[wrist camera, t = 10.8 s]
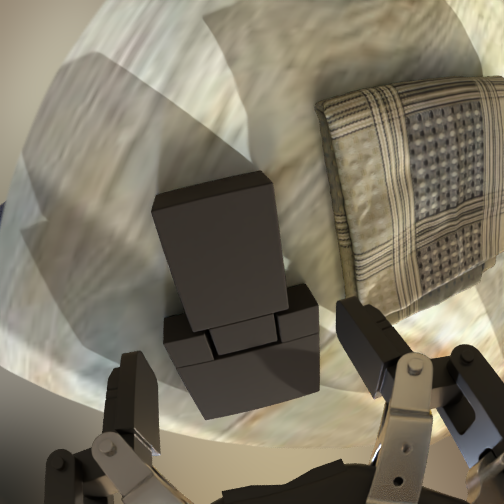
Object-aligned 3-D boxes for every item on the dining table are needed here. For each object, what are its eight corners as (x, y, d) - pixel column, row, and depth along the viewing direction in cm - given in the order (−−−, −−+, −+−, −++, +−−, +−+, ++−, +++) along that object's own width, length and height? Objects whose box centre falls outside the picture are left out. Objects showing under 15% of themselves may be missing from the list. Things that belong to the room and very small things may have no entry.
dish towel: (302, 97, 15) (326, 99, 12) (492, 73, 16) (521, 78, 13) (346, 332, 25) (362, 359, 22) (489, 258, 25) (508, 273, 22)
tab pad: (200, 333, 22) (203, 359, 19) (154, 194, 16) (150, 210, 14) (282, 313, 22) (292, 336, 20) (261, 169, 17) (273, 181, 15)
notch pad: (202, 397, 25) (205, 420, 23) (163, 317, 20) (162, 343, 18) (310, 370, 26) (319, 391, 24) (305, 282, 21) (319, 304, 19)
